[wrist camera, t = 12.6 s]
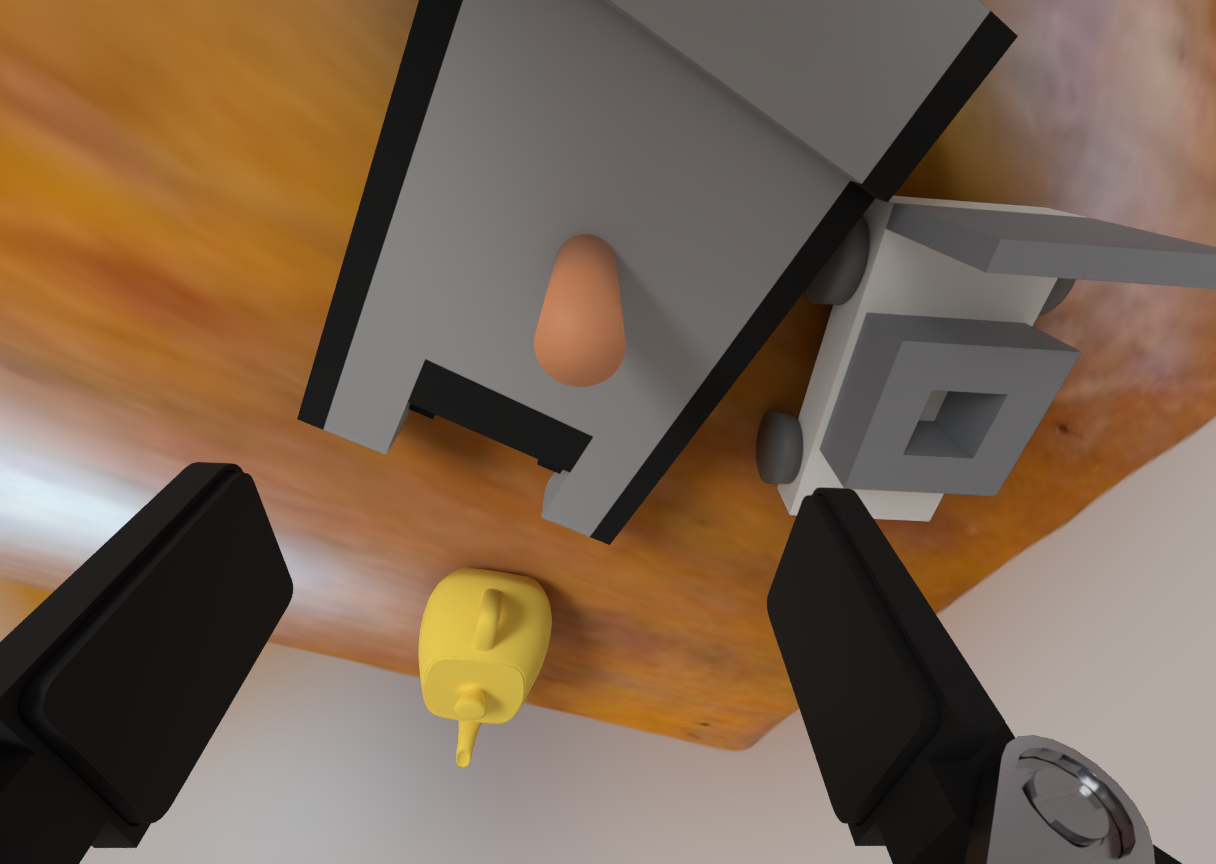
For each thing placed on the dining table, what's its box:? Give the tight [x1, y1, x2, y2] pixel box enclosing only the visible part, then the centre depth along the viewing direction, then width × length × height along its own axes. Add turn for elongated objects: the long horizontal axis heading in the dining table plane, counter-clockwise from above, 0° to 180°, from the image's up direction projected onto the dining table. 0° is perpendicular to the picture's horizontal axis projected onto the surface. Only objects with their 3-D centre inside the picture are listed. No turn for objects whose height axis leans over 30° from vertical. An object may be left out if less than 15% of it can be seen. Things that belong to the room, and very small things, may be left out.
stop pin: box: [534, 234, 626, 387], centre depth 21 cm, size 3×3×10 cm
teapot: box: [419, 567, 552, 768], centre depth 44 cm, size 18×11×11 cm, turn 167°
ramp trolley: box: [756, 196, 1216, 521], centre depth 30 cm, size 20×13×14 cm, turn 176°
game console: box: [297, 0, 1018, 545], centre depth 28 cm, size 21×32×8 cm, turn 151°
